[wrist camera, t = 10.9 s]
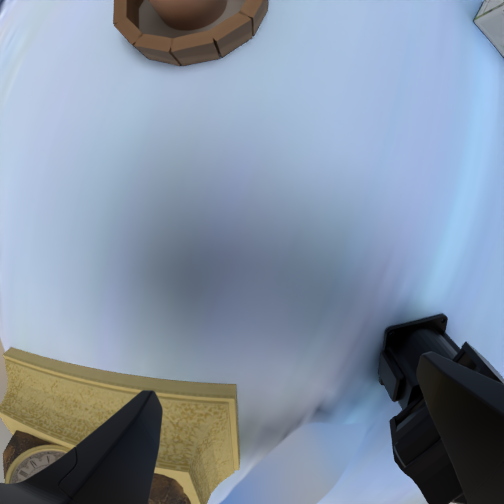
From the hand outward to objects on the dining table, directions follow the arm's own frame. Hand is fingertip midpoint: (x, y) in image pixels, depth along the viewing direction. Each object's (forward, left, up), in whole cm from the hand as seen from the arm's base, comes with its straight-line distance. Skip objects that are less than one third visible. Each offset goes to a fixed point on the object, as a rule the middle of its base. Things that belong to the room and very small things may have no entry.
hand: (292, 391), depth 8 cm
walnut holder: (+3, -20, -13) cm, 24 cm away
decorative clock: (+19, +16, -13) cm, 28 cm away
